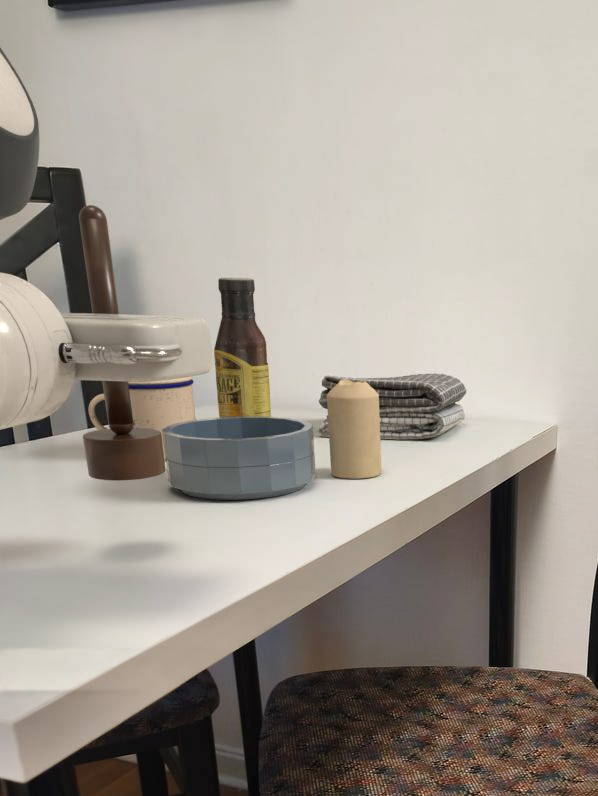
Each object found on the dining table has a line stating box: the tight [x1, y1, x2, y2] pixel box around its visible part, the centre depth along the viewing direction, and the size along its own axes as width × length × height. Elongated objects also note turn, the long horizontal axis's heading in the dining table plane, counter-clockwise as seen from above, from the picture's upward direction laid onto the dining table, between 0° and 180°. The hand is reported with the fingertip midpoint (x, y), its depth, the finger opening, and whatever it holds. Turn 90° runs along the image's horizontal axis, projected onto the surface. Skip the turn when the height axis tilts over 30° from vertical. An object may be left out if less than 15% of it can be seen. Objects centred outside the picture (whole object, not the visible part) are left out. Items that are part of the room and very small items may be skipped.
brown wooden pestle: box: [78, 204, 167, 482], centre depth 65 cm, size 6×6×19 cm
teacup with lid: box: [88, 376, 197, 461], centre depth 105 cm, size 12×9×12 cm
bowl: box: [162, 416, 317, 501], centre depth 91 cm, size 15×15×6 cm
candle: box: [327, 379, 382, 480], centre depth 96 cm, size 6×6×10 cm
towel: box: [317, 372, 467, 441], centre depth 124 cm, size 15×18×8 cm
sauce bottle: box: [213, 277, 272, 418], centre depth 107 cm, size 6×6×20 cm
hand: (115, 335), depth 66 cm, fingers closed on brown wooden pestle
